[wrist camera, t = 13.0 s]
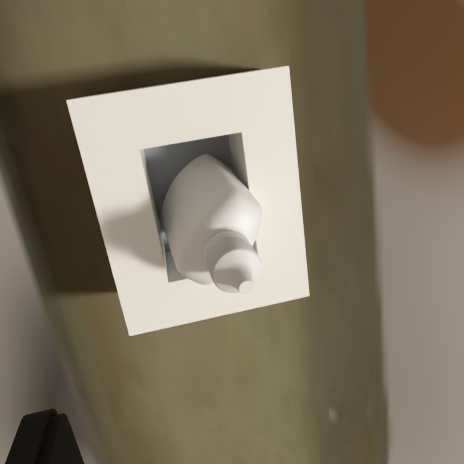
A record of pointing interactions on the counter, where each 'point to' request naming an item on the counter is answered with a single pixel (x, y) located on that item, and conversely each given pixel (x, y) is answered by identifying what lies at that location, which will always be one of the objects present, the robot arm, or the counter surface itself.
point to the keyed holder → (170, 165)
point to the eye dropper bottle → (213, 226)
